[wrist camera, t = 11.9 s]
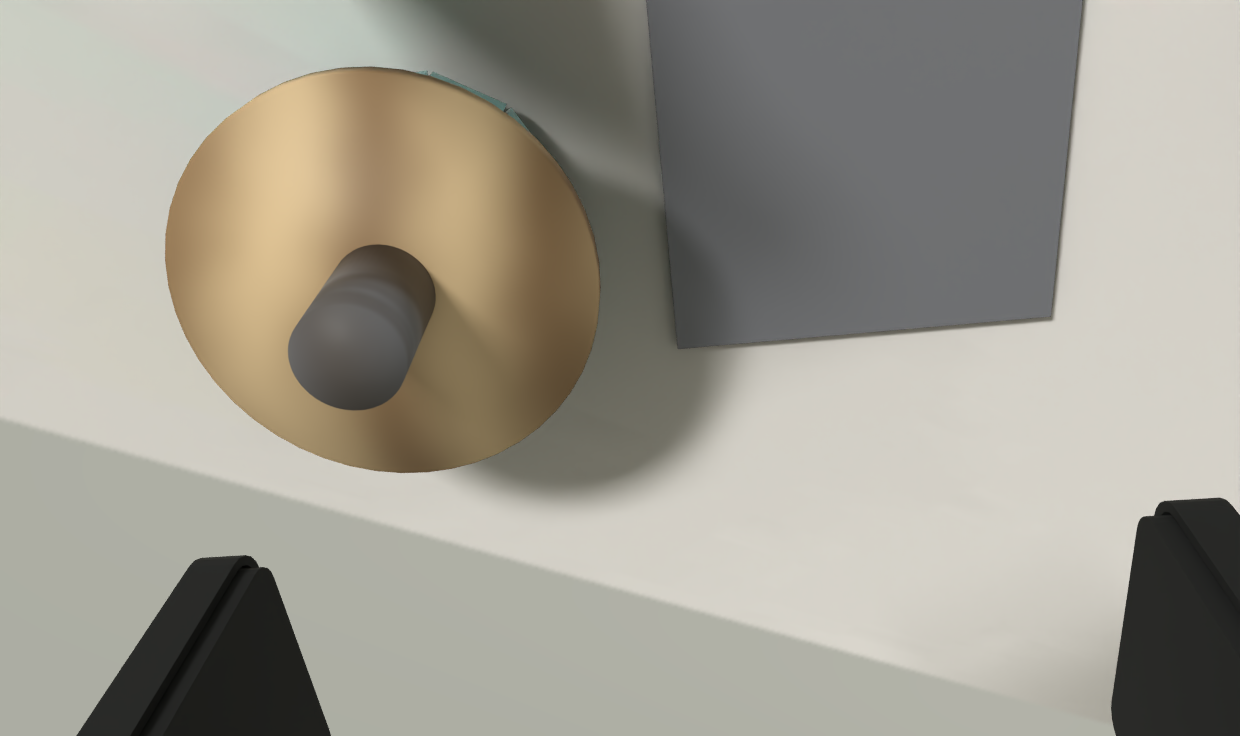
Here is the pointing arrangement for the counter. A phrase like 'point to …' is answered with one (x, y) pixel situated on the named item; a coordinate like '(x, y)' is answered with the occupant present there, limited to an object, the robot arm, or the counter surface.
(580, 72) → the counter surface
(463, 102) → the lid
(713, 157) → the mat
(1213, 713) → the robot arm
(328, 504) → the counter surface
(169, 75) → the counter surface
